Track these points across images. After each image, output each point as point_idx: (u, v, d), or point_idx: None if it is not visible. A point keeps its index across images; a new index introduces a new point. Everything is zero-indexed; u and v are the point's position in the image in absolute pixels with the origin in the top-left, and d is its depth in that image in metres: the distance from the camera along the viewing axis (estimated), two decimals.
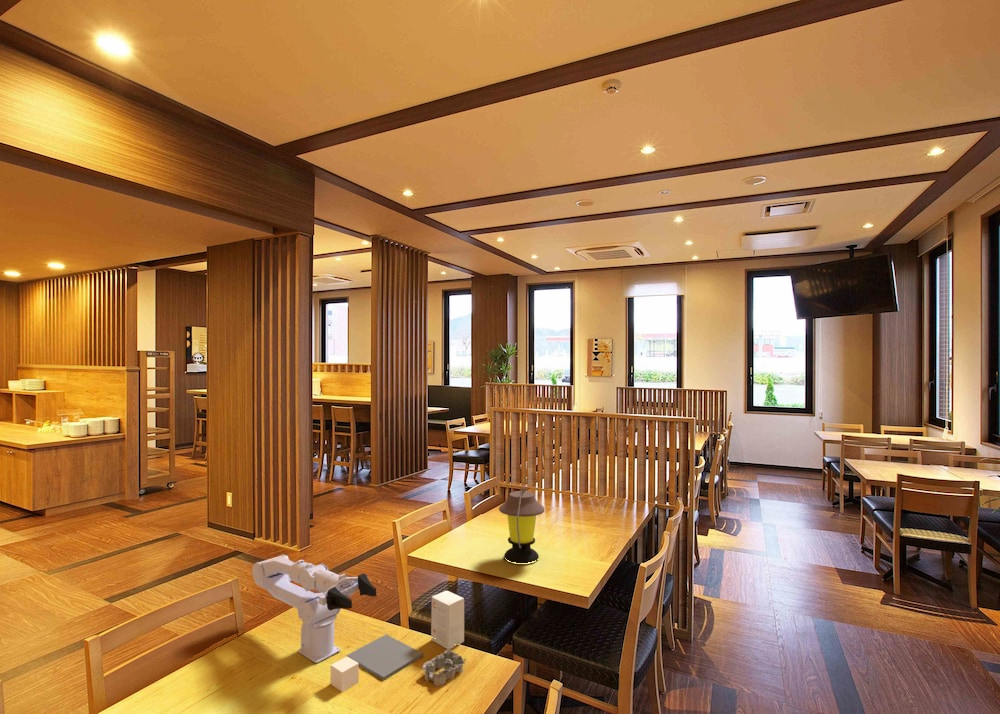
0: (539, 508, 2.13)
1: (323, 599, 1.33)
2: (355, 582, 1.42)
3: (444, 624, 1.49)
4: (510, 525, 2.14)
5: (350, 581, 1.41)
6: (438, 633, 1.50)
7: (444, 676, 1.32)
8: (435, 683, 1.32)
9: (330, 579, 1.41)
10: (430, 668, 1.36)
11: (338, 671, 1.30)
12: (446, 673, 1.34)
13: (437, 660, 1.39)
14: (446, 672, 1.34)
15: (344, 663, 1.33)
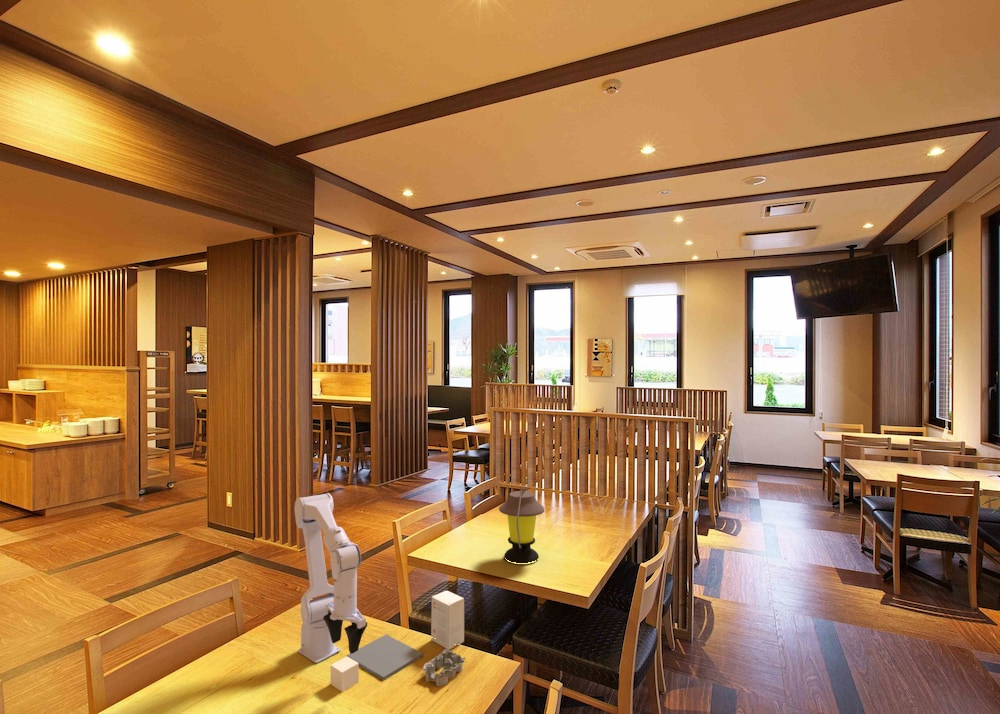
0: (539, 508, 2.13)
1: None
2: None
3: (444, 624, 1.49)
4: (510, 525, 2.14)
5: None
6: (438, 633, 1.50)
7: (446, 676, 1.32)
8: (437, 684, 1.32)
9: (333, 599, 1.31)
10: (430, 669, 1.36)
11: (338, 671, 1.30)
12: (447, 673, 1.34)
13: (436, 661, 1.39)
14: (447, 672, 1.34)
15: (344, 663, 1.33)
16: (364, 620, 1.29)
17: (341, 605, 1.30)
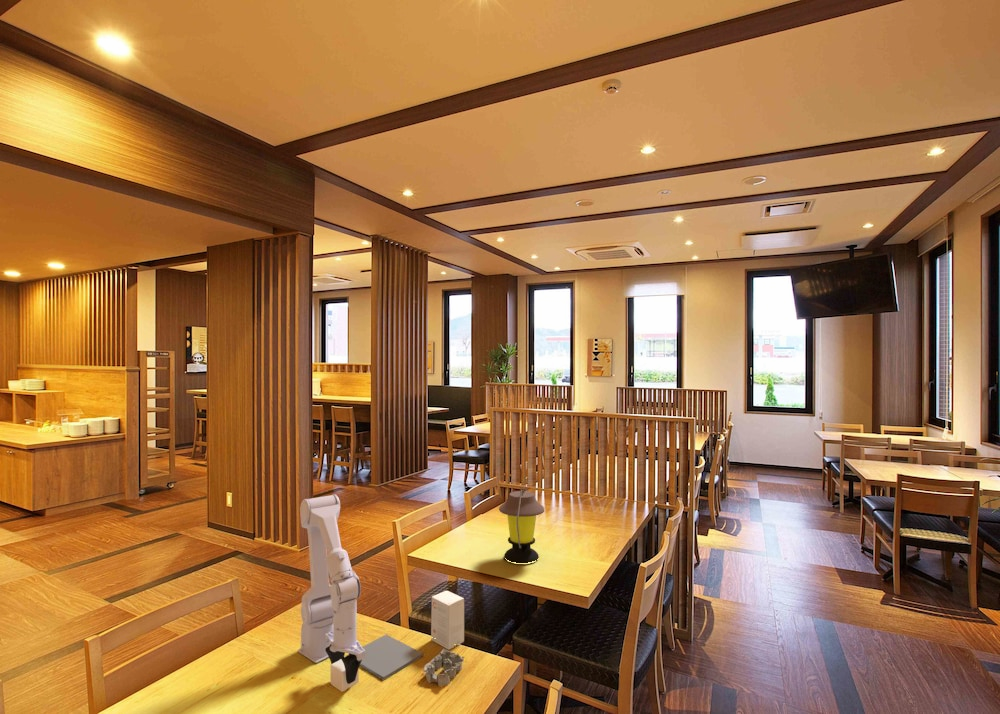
0: (539, 508, 2.13)
1: None
2: None
3: (444, 624, 1.49)
4: (510, 525, 2.14)
5: None
6: (438, 633, 1.50)
7: (448, 676, 1.32)
8: (440, 684, 1.31)
9: (333, 630, 1.31)
10: (430, 670, 1.35)
11: (338, 671, 1.30)
12: (448, 673, 1.34)
13: (435, 661, 1.39)
14: (448, 672, 1.34)
15: None
16: (364, 652, 1.28)
17: (341, 637, 1.30)
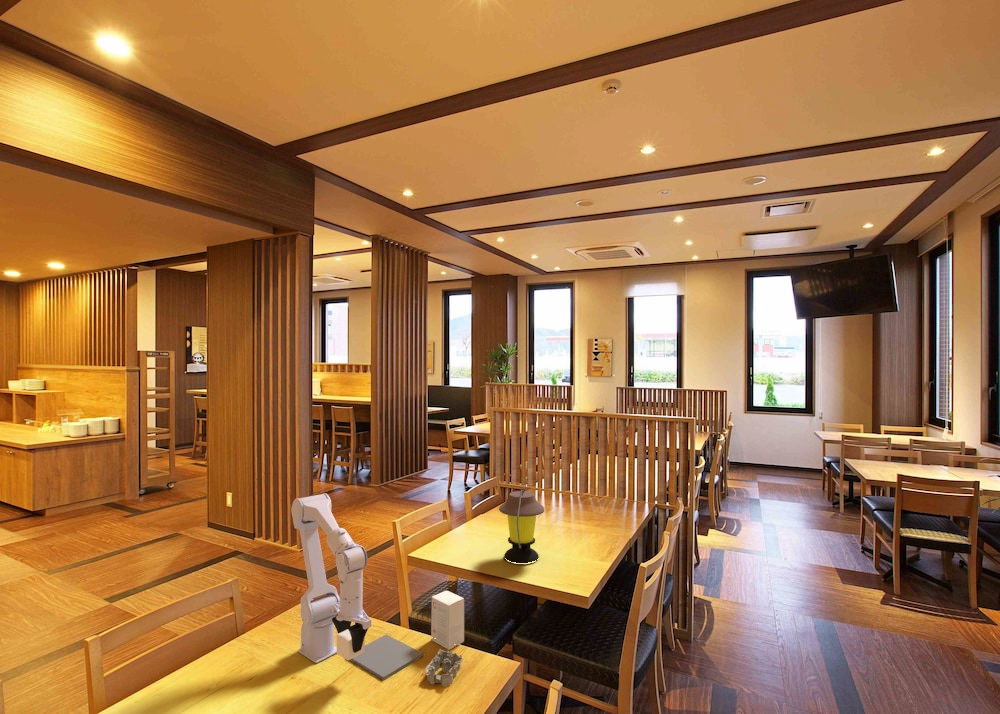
0: (539, 508, 2.13)
1: None
2: None
3: (444, 624, 1.49)
4: (510, 525, 2.14)
5: None
6: (438, 633, 1.50)
7: (452, 675, 1.33)
8: (444, 684, 1.31)
9: (339, 600, 1.33)
10: (431, 671, 1.35)
11: (344, 640, 1.32)
12: (450, 672, 1.35)
13: (434, 662, 1.38)
14: (450, 671, 1.35)
15: None
16: (370, 621, 1.30)
17: (347, 606, 1.31)
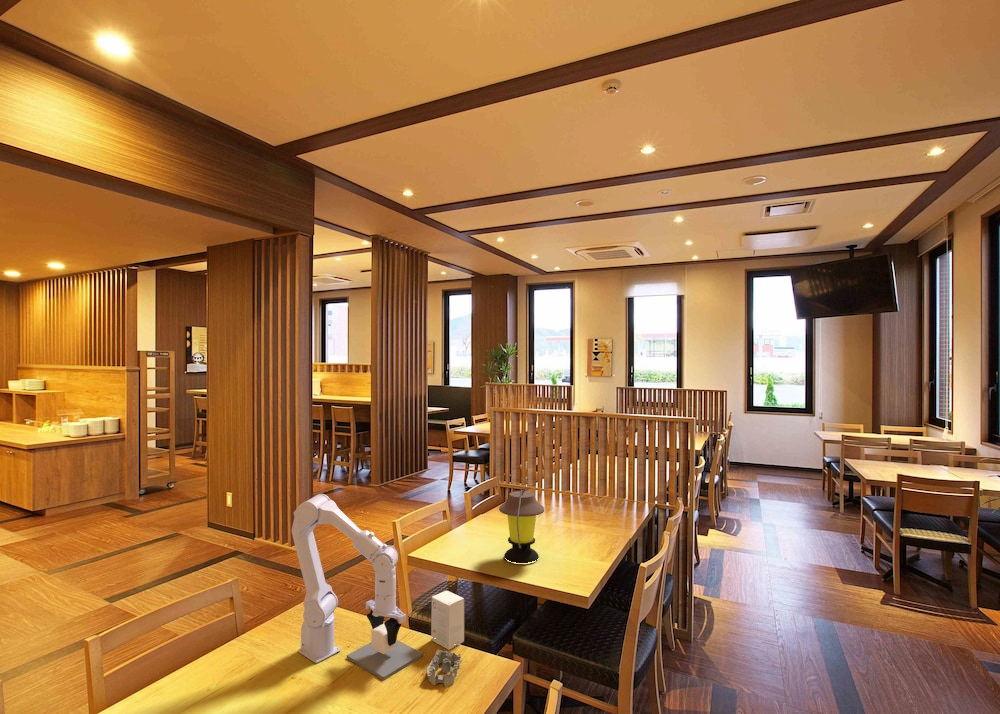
0: (539, 508, 2.13)
1: None
2: None
3: (444, 624, 1.49)
4: (510, 525, 2.14)
5: None
6: (438, 633, 1.50)
7: (453, 674, 1.33)
8: (446, 684, 1.31)
9: (375, 597, 1.43)
10: (432, 672, 1.35)
11: (379, 635, 1.41)
12: (451, 671, 1.35)
13: (434, 663, 1.38)
14: (451, 670, 1.35)
15: (383, 628, 1.44)
16: (404, 616, 1.40)
17: (383, 603, 1.41)
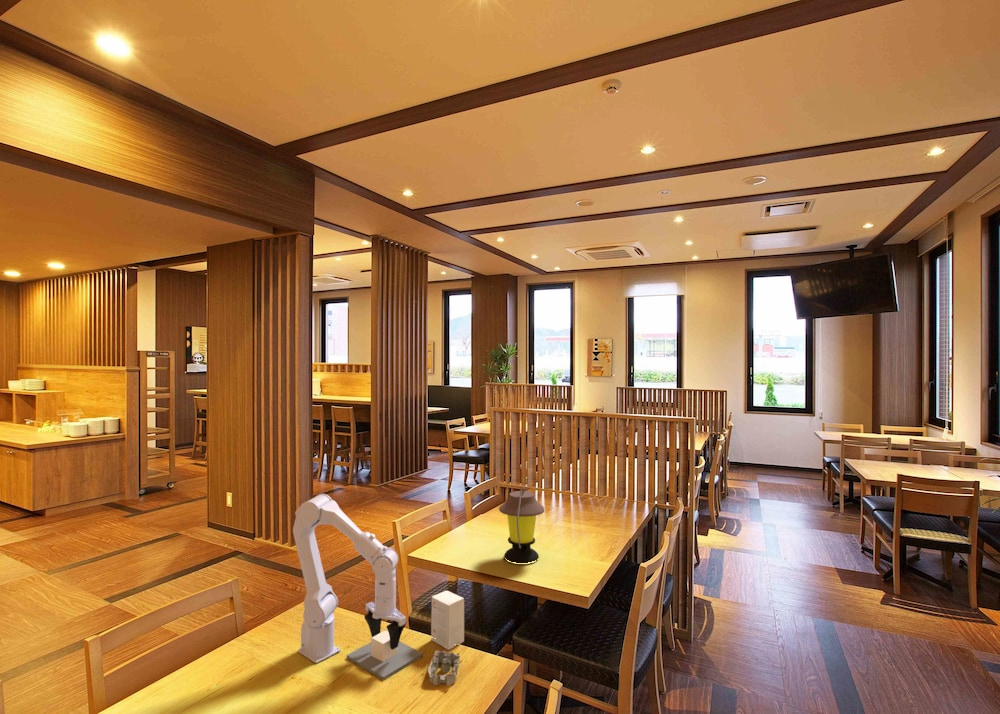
0: (539, 508, 2.13)
1: None
2: None
3: (444, 624, 1.49)
4: (510, 525, 2.14)
5: None
6: (438, 633, 1.50)
7: (455, 674, 1.33)
8: (449, 684, 1.32)
9: (375, 600, 1.43)
10: (433, 673, 1.34)
11: (379, 643, 1.41)
12: None
13: (434, 664, 1.37)
14: None
15: (383, 636, 1.44)
16: (404, 618, 1.40)
17: (383, 605, 1.41)
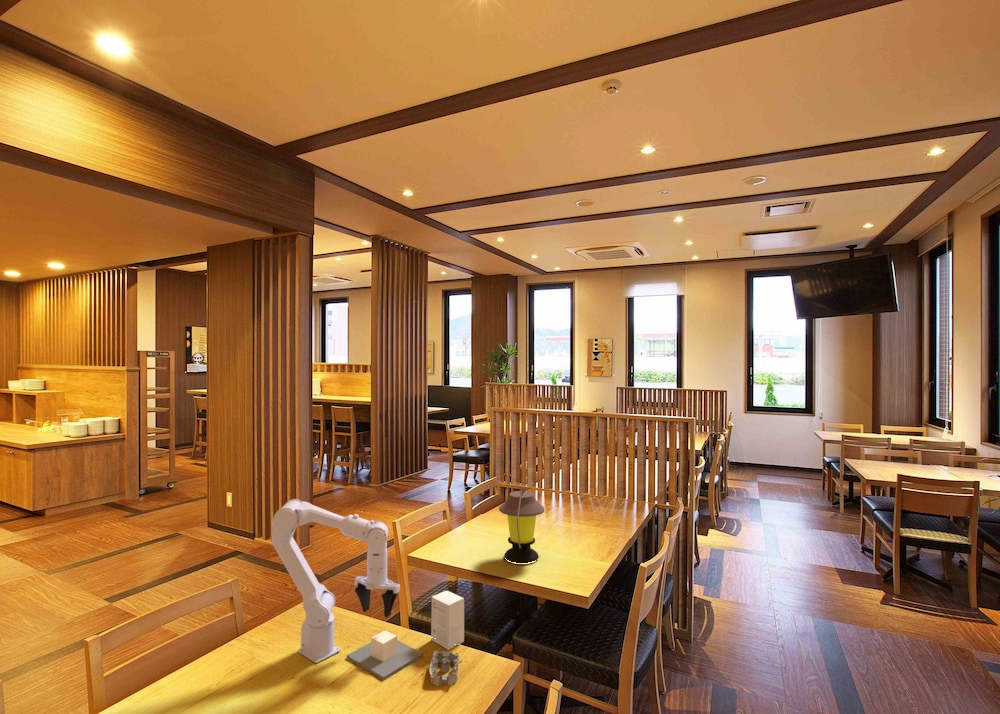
0: (539, 508, 2.13)
1: None
2: None
3: (444, 624, 1.49)
4: (510, 525, 2.14)
5: None
6: (438, 633, 1.50)
7: (456, 673, 1.34)
8: (450, 683, 1.32)
9: (367, 572, 1.46)
10: (434, 673, 1.34)
11: (379, 643, 1.41)
12: (453, 671, 1.35)
13: (433, 664, 1.37)
14: (453, 670, 1.35)
15: (383, 636, 1.44)
16: (399, 586, 1.46)
17: (377, 576, 1.45)
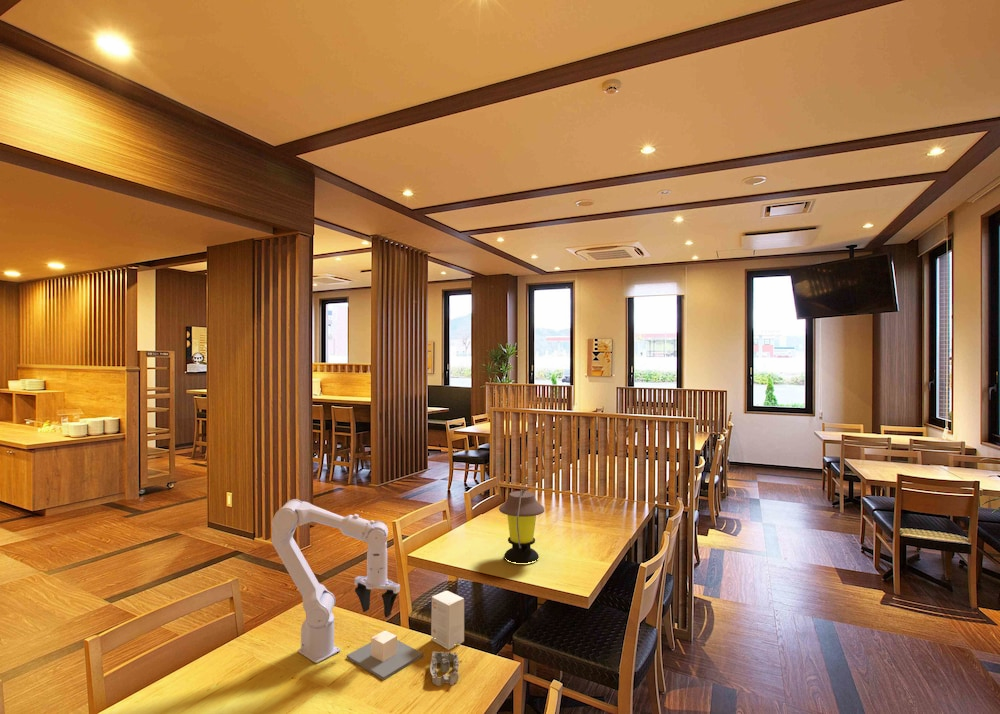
0: (539, 508, 2.13)
1: None
2: None
3: (444, 624, 1.49)
4: (510, 525, 2.14)
5: None
6: (438, 633, 1.50)
7: (457, 672, 1.34)
8: (452, 683, 1.32)
9: (367, 572, 1.46)
10: (435, 674, 1.34)
11: (379, 643, 1.41)
12: None
13: (433, 665, 1.37)
14: (453, 669, 1.35)
15: (383, 636, 1.44)
16: (399, 586, 1.46)
17: (377, 576, 1.45)
